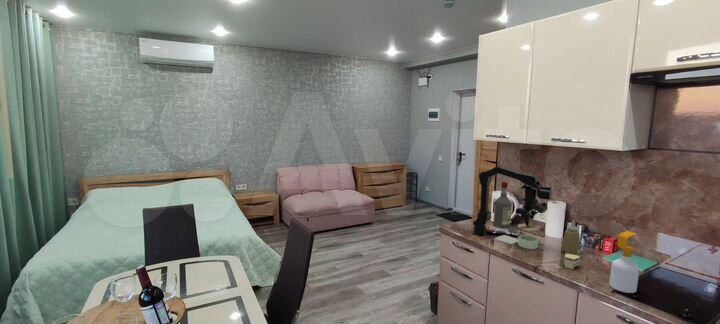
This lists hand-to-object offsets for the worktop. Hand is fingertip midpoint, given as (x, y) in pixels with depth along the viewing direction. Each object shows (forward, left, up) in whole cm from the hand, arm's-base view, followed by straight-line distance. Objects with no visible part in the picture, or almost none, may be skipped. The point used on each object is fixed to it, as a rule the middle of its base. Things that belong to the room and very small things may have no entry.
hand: (528, 224), depth 187 cm
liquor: (-28, +21, -13) cm, 37 cm away
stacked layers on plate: (+26, -8, -13) cm, 31 cm away
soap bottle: (+49, -13, -13) cm, 52 cm away
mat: (-12, 0, -13) cm, 17 cm away
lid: (0, 0, -2) cm, 2 cm away
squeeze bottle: (+19, +10, -13) cm, 25 cm away
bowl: (+1, 0, -13) cm, 13 cm away
